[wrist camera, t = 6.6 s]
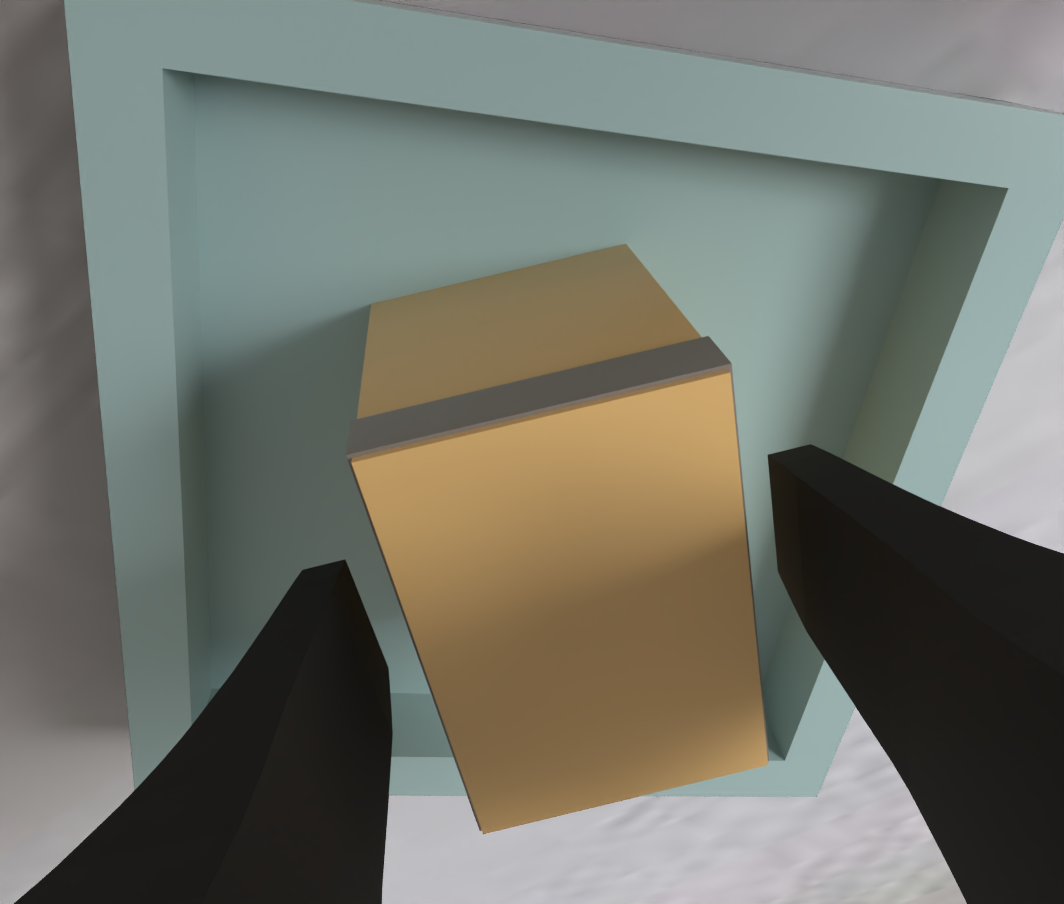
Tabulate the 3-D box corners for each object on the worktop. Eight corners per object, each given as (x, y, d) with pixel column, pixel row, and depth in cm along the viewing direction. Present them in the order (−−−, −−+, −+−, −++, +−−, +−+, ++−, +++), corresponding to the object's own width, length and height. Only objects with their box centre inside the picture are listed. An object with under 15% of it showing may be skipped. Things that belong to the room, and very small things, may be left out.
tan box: (628, 239, 13) (734, 367, 9) (675, 555, 16) (771, 766, 12) (367, 301, 13) (344, 459, 9) (461, 606, 16) (479, 837, 12)
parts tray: (1006, 101, 14) (1104, 122, 12) (777, 716, 20) (817, 796, 18) (119, -42, 11) (60, -46, 9) (165, 703, 17) (135, 794, 15)
